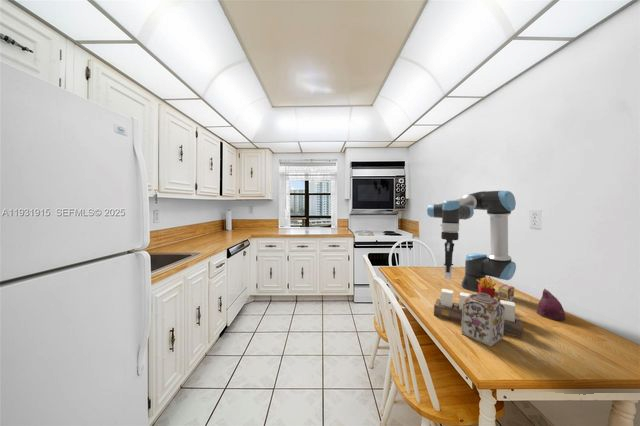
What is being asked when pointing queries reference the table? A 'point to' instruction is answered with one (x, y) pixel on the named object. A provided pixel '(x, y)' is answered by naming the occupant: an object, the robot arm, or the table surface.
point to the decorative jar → (483, 318)
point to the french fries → (486, 287)
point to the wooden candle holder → (456, 315)
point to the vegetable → (550, 307)
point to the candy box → (506, 293)
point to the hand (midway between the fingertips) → (447, 278)
